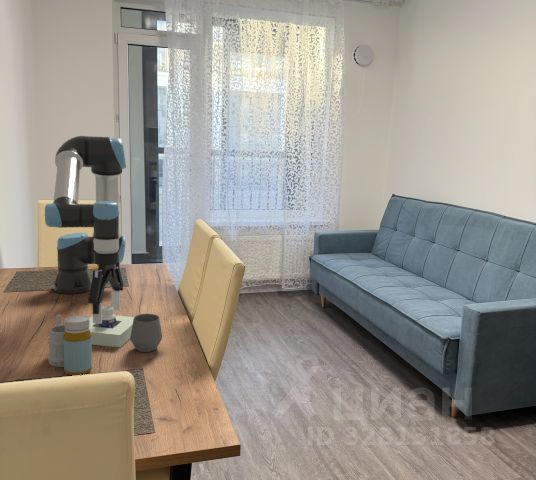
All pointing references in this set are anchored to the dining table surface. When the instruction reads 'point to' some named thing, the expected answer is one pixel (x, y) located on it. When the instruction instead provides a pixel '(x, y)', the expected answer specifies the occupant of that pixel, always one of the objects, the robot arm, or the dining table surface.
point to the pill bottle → (108, 317)
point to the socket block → (111, 332)
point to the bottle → (77, 345)
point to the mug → (56, 344)
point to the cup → (146, 332)
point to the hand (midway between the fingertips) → (107, 316)
